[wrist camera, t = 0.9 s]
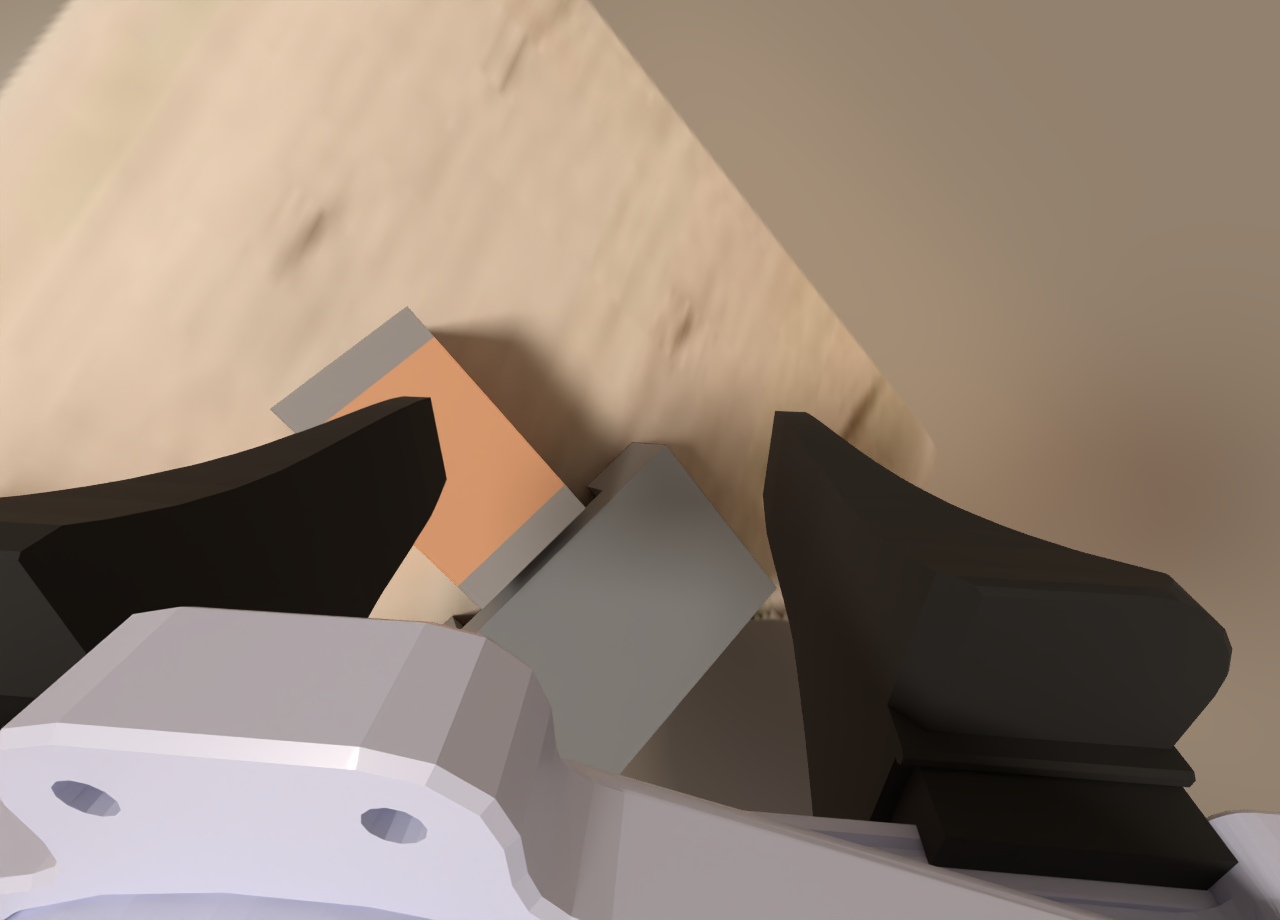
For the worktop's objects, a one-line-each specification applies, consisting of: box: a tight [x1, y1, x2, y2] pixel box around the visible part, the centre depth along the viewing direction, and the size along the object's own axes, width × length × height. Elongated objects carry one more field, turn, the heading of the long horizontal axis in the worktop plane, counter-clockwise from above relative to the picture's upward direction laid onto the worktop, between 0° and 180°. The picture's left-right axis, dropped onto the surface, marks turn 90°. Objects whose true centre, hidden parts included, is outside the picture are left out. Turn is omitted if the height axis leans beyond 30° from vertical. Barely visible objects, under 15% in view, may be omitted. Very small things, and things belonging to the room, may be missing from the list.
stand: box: [443, 442, 777, 774], centre depth 25 cm, size 14×9×4 cm, turn 130°
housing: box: [270, 307, 585, 609], centre depth 21 cm, size 9×5×5 cm, turn 40°
